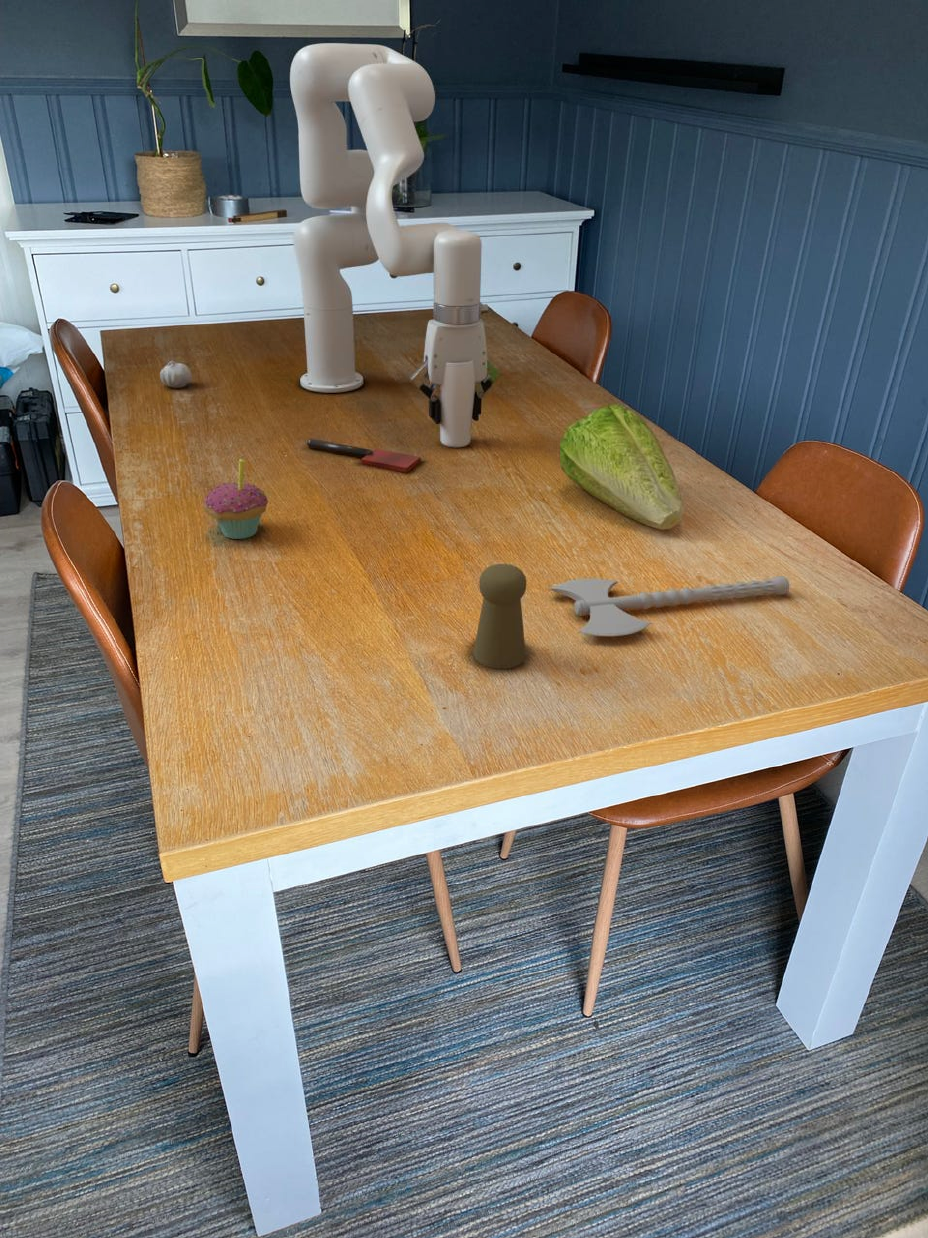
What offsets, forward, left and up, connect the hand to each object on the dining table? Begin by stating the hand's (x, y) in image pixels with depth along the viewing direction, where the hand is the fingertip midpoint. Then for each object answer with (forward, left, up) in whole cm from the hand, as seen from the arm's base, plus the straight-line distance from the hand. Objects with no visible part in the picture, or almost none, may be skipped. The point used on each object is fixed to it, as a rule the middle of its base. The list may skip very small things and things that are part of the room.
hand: (455, 418), depth 164 cm
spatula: (+3, -17, -4) cm, 17 cm away
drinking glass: (0, 0, -5) cm, 5 cm away
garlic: (-43, -45, -5) cm, 62 cm away
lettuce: (+31, +18, -5) cm, 36 cm away
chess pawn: (+65, -13, -5) cm, 67 cm away
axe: (+60, +12, -5) cm, 62 cm away
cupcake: (+26, -39, -5) cm, 47 cm away
